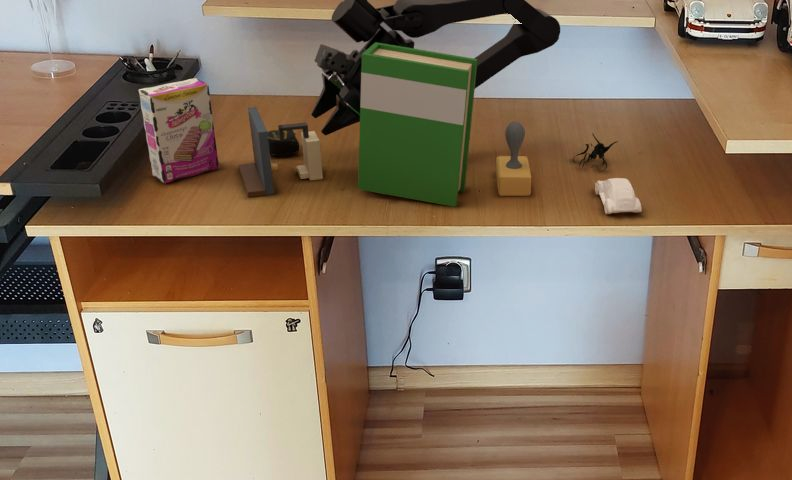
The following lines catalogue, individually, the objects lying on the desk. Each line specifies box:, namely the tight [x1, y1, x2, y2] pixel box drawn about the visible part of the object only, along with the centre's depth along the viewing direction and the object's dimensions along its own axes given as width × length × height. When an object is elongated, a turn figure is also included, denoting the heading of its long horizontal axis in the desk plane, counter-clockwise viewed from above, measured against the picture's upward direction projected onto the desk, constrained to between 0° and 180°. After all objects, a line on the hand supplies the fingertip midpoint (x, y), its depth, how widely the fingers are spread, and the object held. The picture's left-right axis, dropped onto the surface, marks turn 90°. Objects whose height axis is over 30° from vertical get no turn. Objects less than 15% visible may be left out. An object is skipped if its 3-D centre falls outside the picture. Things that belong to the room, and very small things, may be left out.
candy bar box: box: [137, 77, 220, 184], centre depth 162 cm, size 11×5×16 cm, turn 134°
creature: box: [572, 132, 619, 172], centre depth 174 cm, size 8×5×8 cm
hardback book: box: [357, 42, 477, 208], centre depth 154 cm, size 18×7×24 cm, turn 79°
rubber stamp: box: [495, 121, 532, 197], centre depth 162 cm, size 10×6×12 cm, turn 3°
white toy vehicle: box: [594, 177, 643, 215], centre depth 159 cm, size 12×6×5 cm, turn 9°
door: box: [237, 106, 279, 198], centre depth 161 cm, size 6×13×12 cm, turn 21°
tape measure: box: [267, 129, 300, 156], centre depth 175 cm, size 7×7×4 cm
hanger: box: [277, 122, 324, 181], centre depth 164 cm, size 7×5×10 cm
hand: (318, 124), depth 163 cm, fingers open, 9 cm apart
